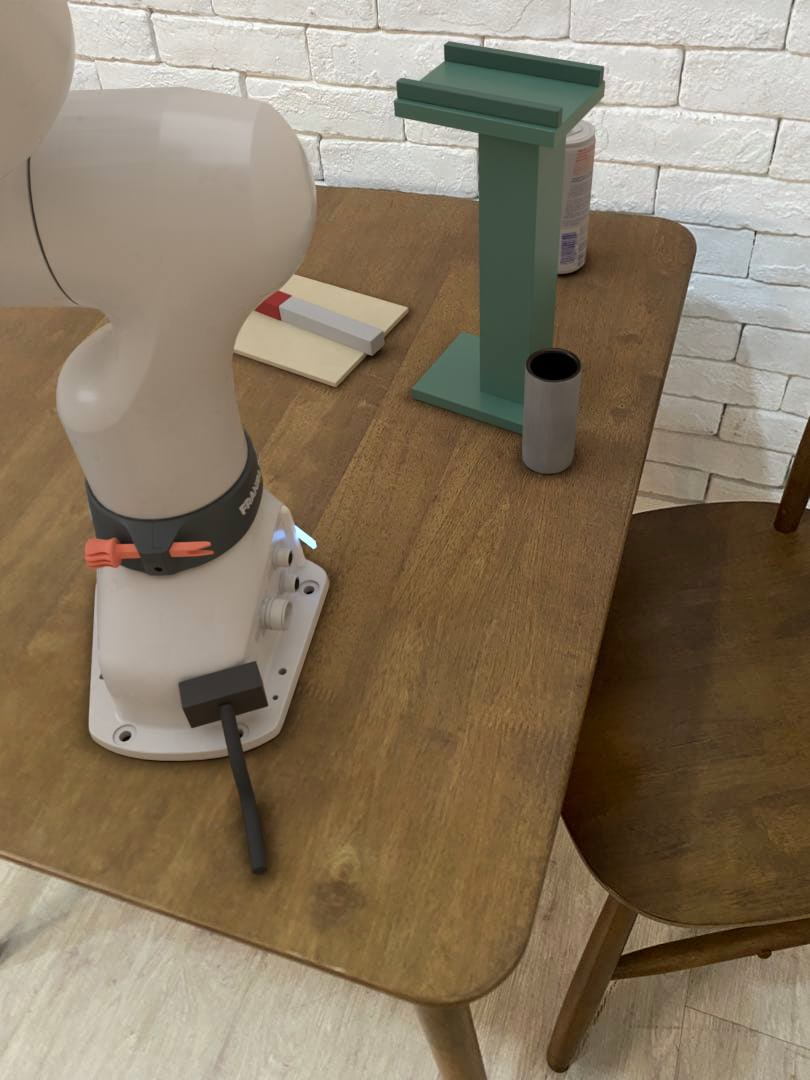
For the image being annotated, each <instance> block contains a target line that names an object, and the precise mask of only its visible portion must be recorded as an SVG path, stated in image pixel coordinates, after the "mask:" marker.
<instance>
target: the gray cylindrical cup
mask: <svg viewBox="0 0 810 1080" xmlns="http://www.w3.org/2000/svg"><path fill="white" fill-rule="evenodd" d="M582 370H583V363H582V360H581V359H580V357H579V356H577V354H575V353H574V352H572V351H570V350H568V349H566V348H559V347H553V348H545V349H541V350H538V351H536V352H534V353H533V354H531V355H530V356H529V357H528V359H527V361H526V364H525V386H524V411H523V435H522V436H521V437H522V438H521V439H522V440H521V442H522V443H521V459H522V462H523V463H524V465H525V466H526V467H527V468H528V469H530V470H532V471H533V472H536V473H538V474H542V475H543V474H544V475H552V474H553V475H554V474H559V473H561V472H563V471H565V470H567V469H568V468H569V467H570V466H571V465H572V463H573V461H574V460H573V459H574V454H575V453H574V452H575V443H576V436H577V435H576V434H577V422H578V414H579V413H578V412H579V404H580V403H579V402H580V391H581V382H582V373H583V371H582Z"/></svg>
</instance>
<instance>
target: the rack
mask: <svg viewBox="0 0 810 1080" xmlns="http://www.w3.org/2000/svg"><path fill="white" fill-rule="evenodd" d="M604 75H605V66H604V65H600V64H599V65H598V64H593V63H586V62H581V61H576V60H575V61H574V60H569V59H561V58H555V57H550V56H543V55H538V54H530V53H525V52H519V51H513V50H507V49H501V48H493V47H488V46H482V45H475V44H470V43H469V44H468V43H463V42H457V41H451V40H448V41H447V42H445V43H444V44H443V62H441V63H440V64H438V65H437V66H436V67H435V68H434V69H432V70H431V71H429V72H428V73H427V74H426V75H425V76H423V77H422V78H421V79H420V80H417V79H412V78H407V77H400V78H399V79H397V80H396V82H395V84H396V99H394V100H393V110H394V111H393V112H394V117H396V118H401V119H406V120H410V121H416V122H420V123H426V124H429V125H434V126H435V125H436V126H441V127H445V128H451V129H455V130H460V131H466V132H470V133H475V134H477V136H478V137H477V143H478V145H477V146H478V147H477V148H478V149H477V150H478V153H477V156H478V157H477V159H478V160H477V161H478V284H479V285H478V291H479V292H478V293H479V294H478V296H479V297H478V299H479V302H478V304H479V305H478V307H479V309H478V311H479V312H478V313H479V315H478V316H479V336H478V335H475V334H471V333H468V332H465V331H460V333H459V334H458V335H456V337H455V338H454V340H453V341H452V342H451V343H450V344H449V345H448V346H447V347H446V348H445V350H444V351H443V352H442V353H441V354H440V355H439V356H438V358H437V359H436V360H435V361H434V362H433V364H431V366H429V368H428V369H427V370H426V371H425V372H424V374H423V375H422V376H420V378H419V379H418V381H416V383H415V384H414V385H413V386H412V387H411V397H412V399H414V400H418V401H420V402H423V403H426V404H429V405H432V406H435V407H439V408H442V409H445V410H447V411H450V412H453V413H456V414H459V415H463V416H465V417H468V418H471V419H475V420H477V421H480V422H484V423H487V424H489V425H492V426H494V427H495V426H496V427H498V428H501V429H504V430H507V431H510V432H512V433H517V434H519V435H522V436H523V411H524V386H525V364H526V361H527V359H528V357H529V356H530V355H531V354H533V353H534V352H536V351H538V350H541V349H545V348H554V347H553V346H554V335H555V334H554V332H555V317H556V302H557V301H556V300H557V287H558V286H557V285H558V284H557V283H558V274H557V272H558V256H559V240H560V225H561V209H562V194H563V178H564V163H565V147H566V135H567V134H568V133H569V132H570V131H571V130H572V129H573V128H574V127H575V126H576V125H577V124H578V123H579V122H580V121H581V120H584V118H585V117H586V116H587V115H588V113H590V112H591V110H592V109H594V107H595V106H596V105H598V103H599V102H601V100H602V99H603V98H604V97H605V93H606V92H605V91H606V80H604Z"/></svg>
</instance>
